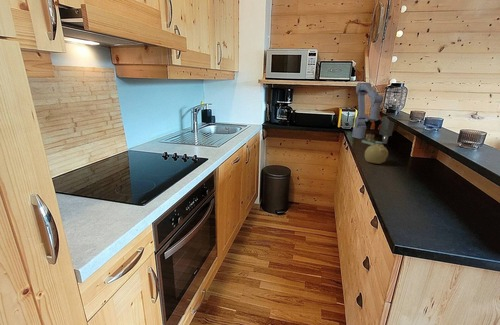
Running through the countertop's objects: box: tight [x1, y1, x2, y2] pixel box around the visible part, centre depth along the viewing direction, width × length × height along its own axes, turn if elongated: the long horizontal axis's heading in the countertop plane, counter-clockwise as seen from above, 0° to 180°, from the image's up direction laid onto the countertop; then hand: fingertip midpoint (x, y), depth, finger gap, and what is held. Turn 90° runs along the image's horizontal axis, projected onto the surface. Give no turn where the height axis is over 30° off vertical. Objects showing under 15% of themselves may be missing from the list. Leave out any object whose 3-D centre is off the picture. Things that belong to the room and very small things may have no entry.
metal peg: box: [381, 135, 389, 145], centre depth 194 cm, size 4×4×6 cm
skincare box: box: [378, 116, 395, 137], centre depth 222 cm, size 8×7×16 cm
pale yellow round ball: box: [364, 144, 389, 165], centre depth 147 cm, size 11×12×11 cm
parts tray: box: [360, 139, 384, 146], centre depth 193 cm, size 12×9×2 cm
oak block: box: [364, 133, 375, 143], centre depth 194 cm, size 4×4×6 cm
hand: (371, 130), depth 193 cm, fingers open, 7 cm apart
